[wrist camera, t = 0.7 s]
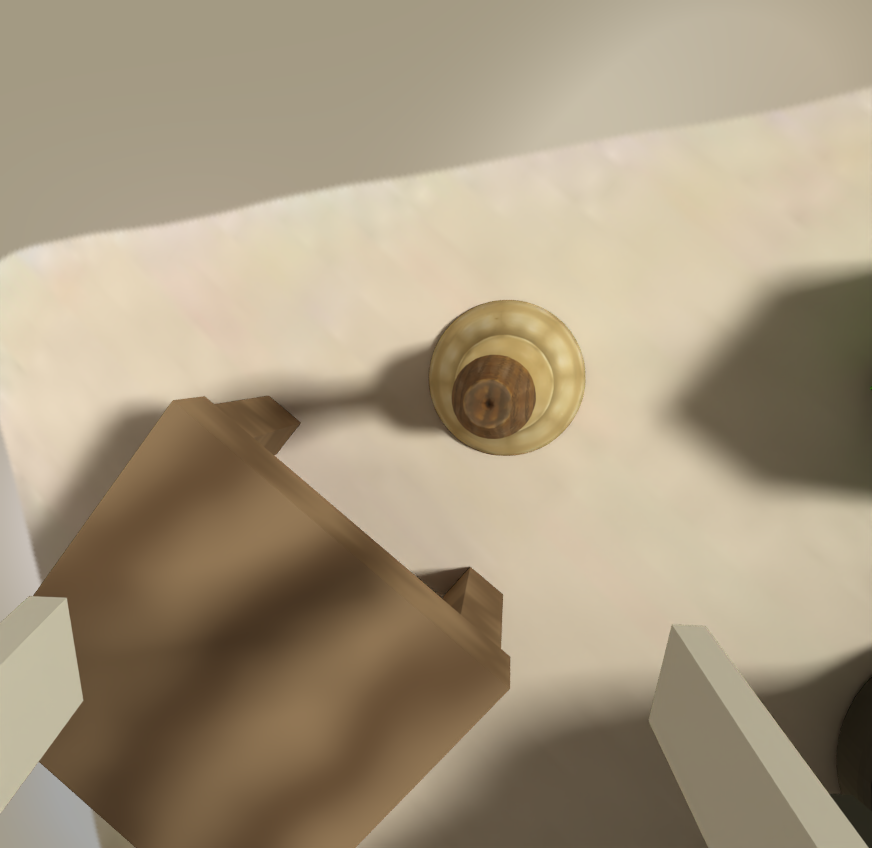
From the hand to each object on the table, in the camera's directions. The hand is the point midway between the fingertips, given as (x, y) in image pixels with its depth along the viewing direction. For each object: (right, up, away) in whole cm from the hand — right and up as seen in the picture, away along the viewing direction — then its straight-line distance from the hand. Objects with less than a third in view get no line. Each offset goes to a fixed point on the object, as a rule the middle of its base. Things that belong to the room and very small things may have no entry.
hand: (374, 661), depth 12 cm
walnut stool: (-7, -5, +21) cm, 22 cm away
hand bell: (+5, +8, +18) cm, 20 cm away
